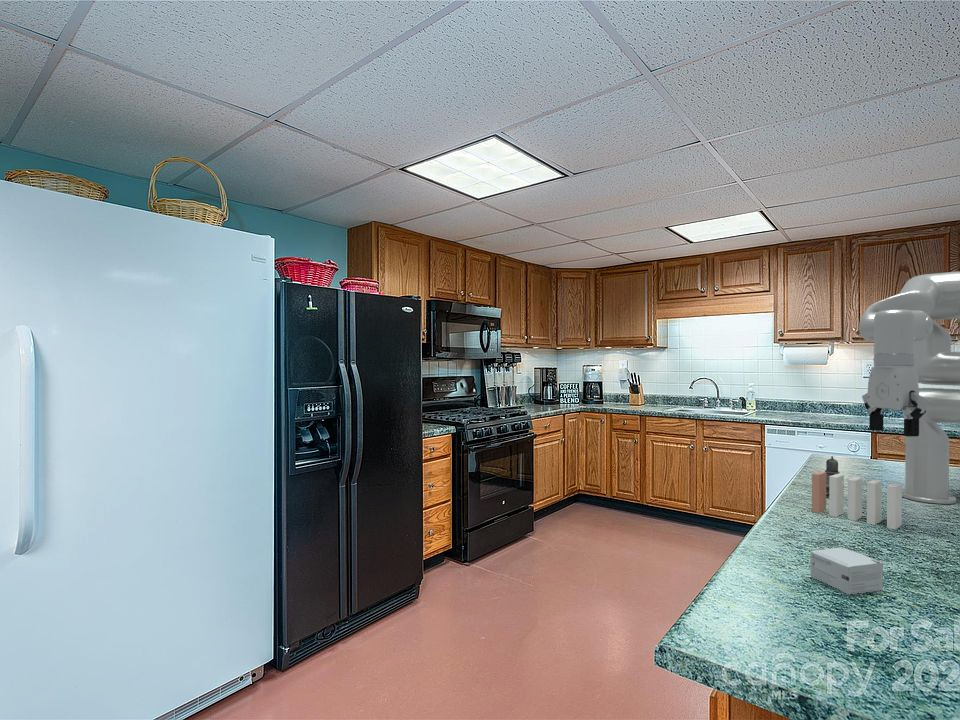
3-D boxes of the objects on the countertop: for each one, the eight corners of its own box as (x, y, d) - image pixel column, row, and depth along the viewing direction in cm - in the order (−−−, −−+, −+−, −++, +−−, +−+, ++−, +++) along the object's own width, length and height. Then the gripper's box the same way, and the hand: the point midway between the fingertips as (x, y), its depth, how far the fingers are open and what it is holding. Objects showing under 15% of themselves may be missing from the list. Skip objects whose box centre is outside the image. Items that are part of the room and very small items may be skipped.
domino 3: (873, 519, 129) (873, 479, 129) (881, 521, 128) (881, 480, 128) (866, 523, 126) (866, 482, 126) (874, 525, 125) (874, 483, 125)
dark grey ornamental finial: (848, 500, 147) (848, 458, 147) (825, 499, 148) (825, 457, 148) (838, 495, 152) (838, 454, 152) (816, 494, 154) (816, 453, 154)
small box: (809, 577, 96) (809, 550, 96) (843, 573, 98) (843, 546, 98) (848, 596, 88) (848, 566, 88) (884, 591, 90) (884, 562, 90)
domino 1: (836, 511, 136) (836, 473, 136) (843, 513, 135) (843, 474, 135) (829, 515, 133) (829, 476, 133) (836, 517, 132) (836, 477, 131)
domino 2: (854, 515, 133) (854, 476, 133) (862, 517, 131) (862, 477, 131) (847, 519, 130) (847, 479, 130) (855, 521, 128) (855, 480, 128)
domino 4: (893, 523, 126) (893, 482, 126) (901, 525, 125) (901, 483, 125) (886, 527, 123) (887, 485, 123) (895, 529, 122) (895, 487, 122)
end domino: (819, 508, 139) (819, 471, 139) (826, 509, 138) (826, 472, 138) (811, 511, 136) (812, 473, 136) (818, 513, 135) (818, 474, 135)
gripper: (850, 361, 133) (850, 428, 133) (911, 362, 115) (910, 439, 115) (878, 361, 133) (878, 428, 133) (942, 362, 116) (942, 438, 116)
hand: (893, 433), depth 124 cm, fingers open, 9 cm apart
